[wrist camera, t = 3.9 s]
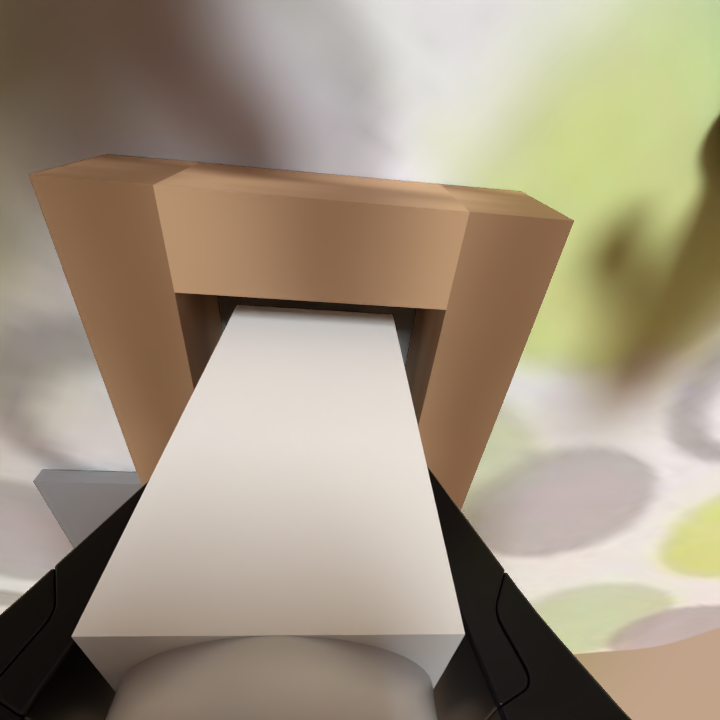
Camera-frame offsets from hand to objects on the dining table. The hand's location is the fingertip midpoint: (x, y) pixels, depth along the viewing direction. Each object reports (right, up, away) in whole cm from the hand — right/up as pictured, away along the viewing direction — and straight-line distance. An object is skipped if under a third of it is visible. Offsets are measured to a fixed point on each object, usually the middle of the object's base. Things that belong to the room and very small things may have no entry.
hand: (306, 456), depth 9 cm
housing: (0, +3, +4) cm, 5 cm away
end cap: (0, +2, +3) cm, 4 cm away
